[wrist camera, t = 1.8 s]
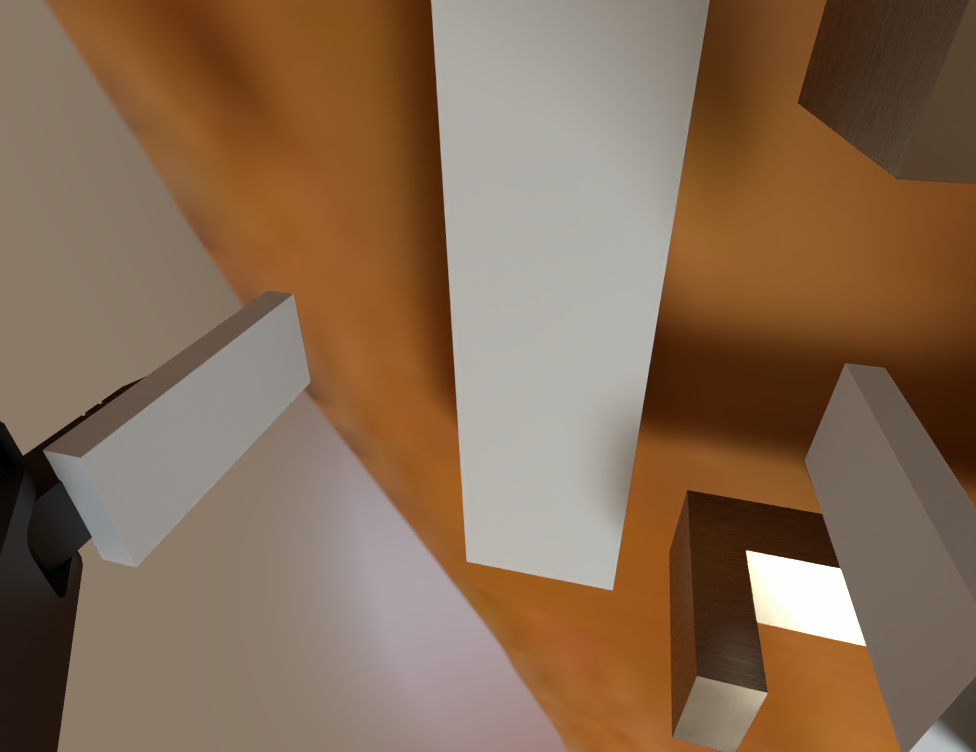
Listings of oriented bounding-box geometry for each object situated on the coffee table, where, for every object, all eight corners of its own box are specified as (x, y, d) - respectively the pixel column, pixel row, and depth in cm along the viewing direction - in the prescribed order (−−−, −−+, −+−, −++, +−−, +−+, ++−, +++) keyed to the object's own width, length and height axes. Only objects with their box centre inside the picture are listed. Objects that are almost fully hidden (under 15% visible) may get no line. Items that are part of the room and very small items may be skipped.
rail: (492, -87, 14) (423, -123, 10) (710, -100, 13) (733, -146, 9) (499, 465, 24) (466, 561, 20) (620, 484, 23) (612, 590, 18)
